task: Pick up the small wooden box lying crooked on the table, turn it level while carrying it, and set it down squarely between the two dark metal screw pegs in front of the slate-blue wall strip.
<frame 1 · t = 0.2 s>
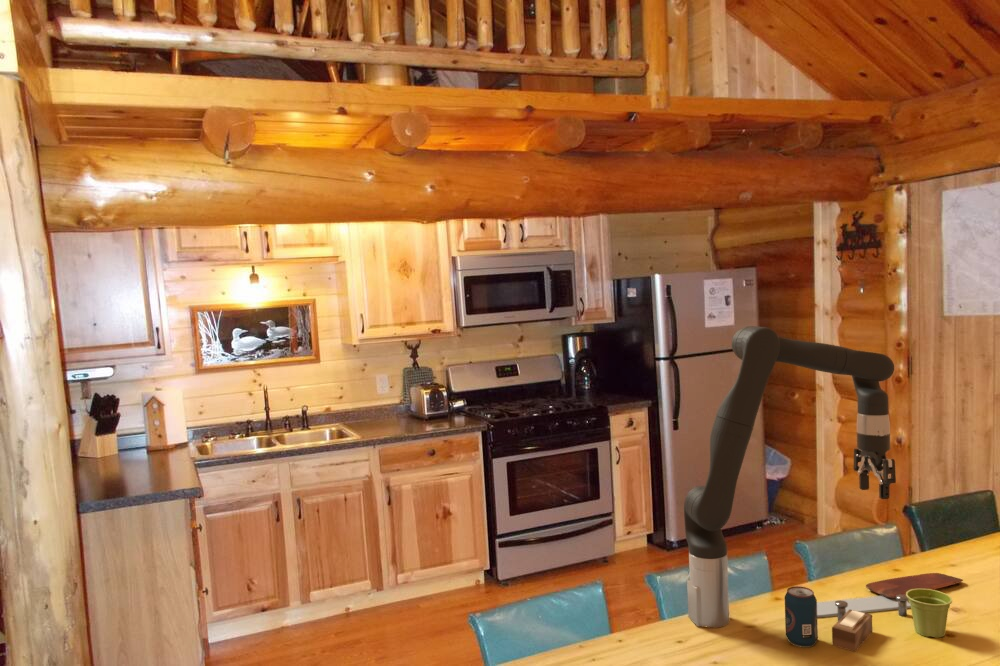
hand: (874, 494, 188), 29 cm above the table, tool pointing down, fingers open, 8 cm apart
screw right: (902, 614, 183), on the table
wooden box: (852, 639, 172), on the table
plant pot: (929, 633, 173), on the table
soda can: (801, 642, 172), on the table
wall strip: (856, 606, 188), on the table
screw left: (841, 621, 181), on the table
wooden tablet: (916, 587, 197), on the table, touching wall strip
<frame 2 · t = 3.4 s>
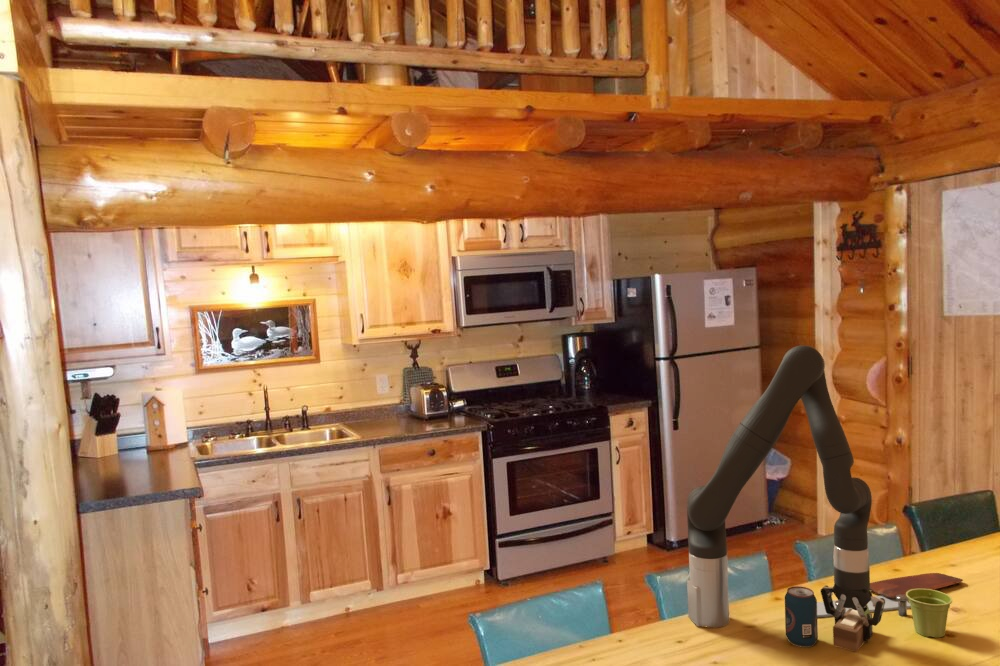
hand: (853, 636, 172), 1 cm above the table, tool pointing down, fingers closed on wooden box, 5 cm apart
wooden box: (853, 638, 172), on the table, touching gripper
everything else where it was.
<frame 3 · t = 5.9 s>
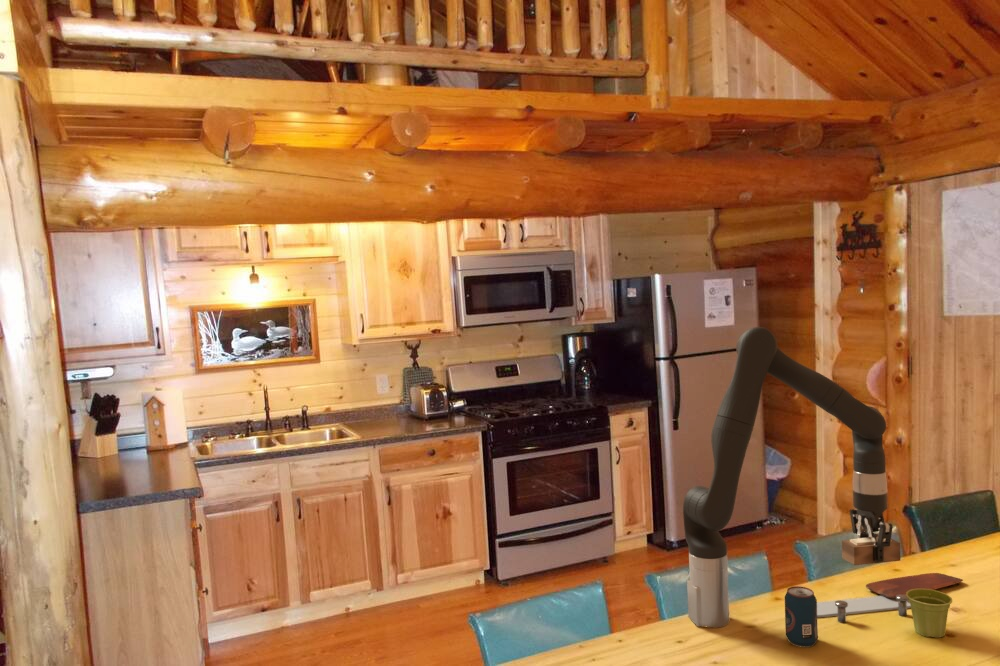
hand: (871, 557, 181), 15 cm above the table, tool pointing down, fingers closed on wooden box, 5 cm apart
wooden box: (871, 559, 181), point 15 cm above the table, touching gripper
everything else where it was.
when the fingers open (3 cm above the table, at t = 8.7 s): wooden box drops 2 cm, on the table.
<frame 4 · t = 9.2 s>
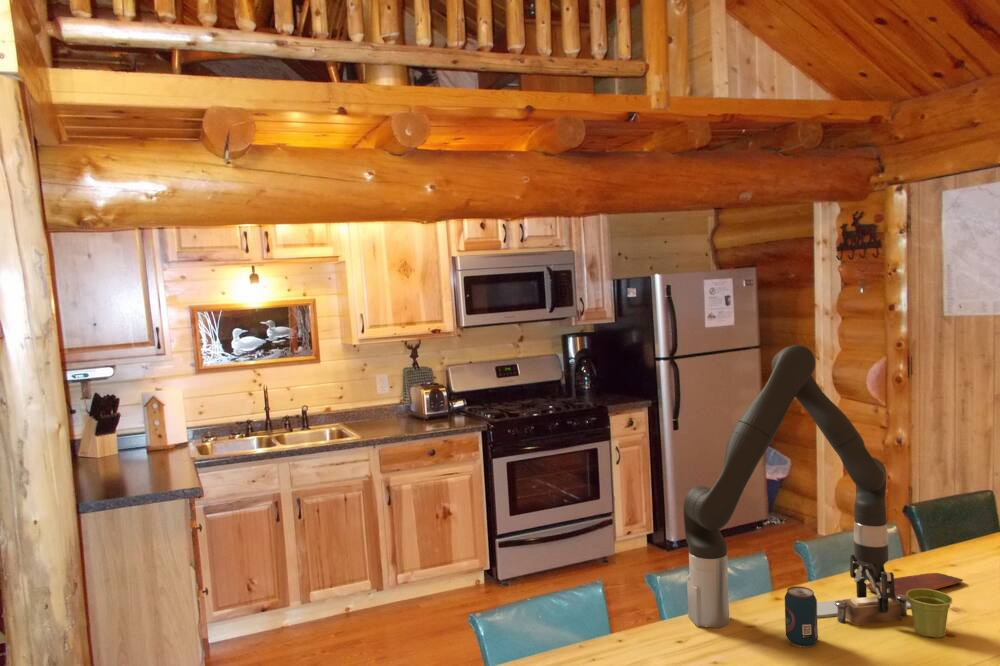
hand: (872, 604, 181), 3 cm above the table, tool pointing down, fingers open, 8 cm apart
wooden box: (872, 619, 182), on the table
everything else where it was.
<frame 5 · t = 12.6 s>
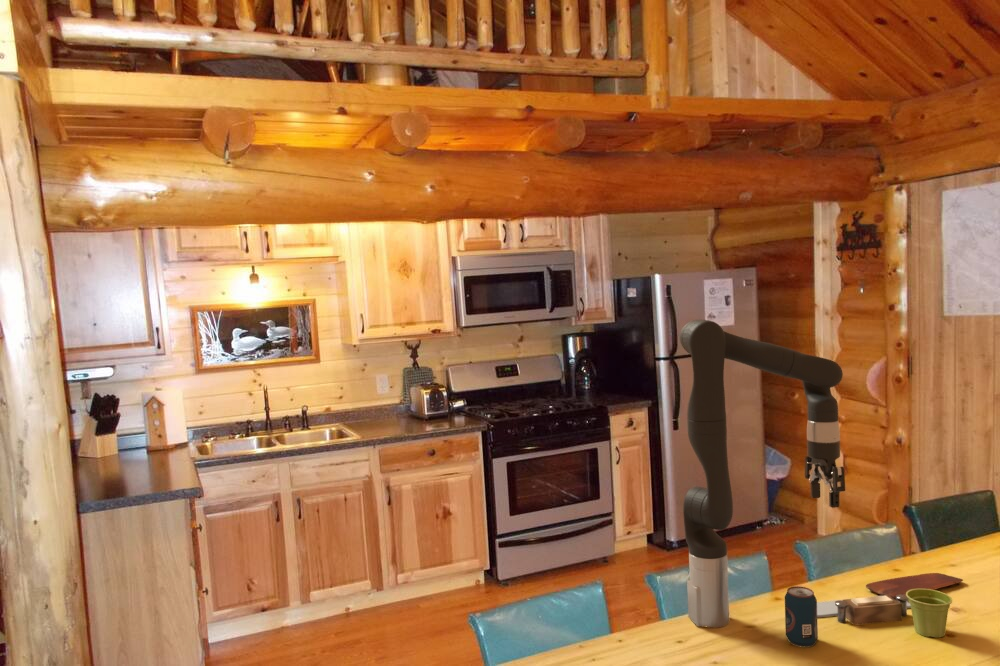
hand: (824, 502, 185), 28 cm above the table, tool pointing down, fingers open, 8 cm apart
nothing on the table moved.
at the end: wooden box 0.3 cm from the target spot, on the table; wooden box tilted 0°; the gripper is holding nothing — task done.
